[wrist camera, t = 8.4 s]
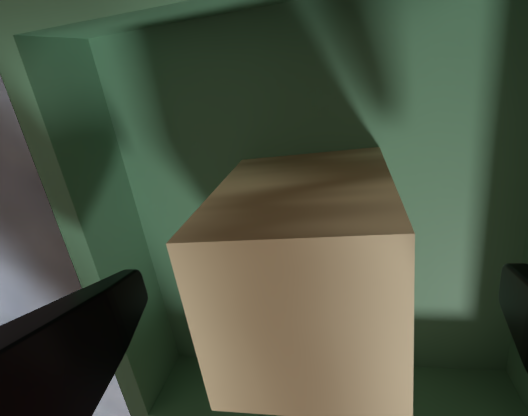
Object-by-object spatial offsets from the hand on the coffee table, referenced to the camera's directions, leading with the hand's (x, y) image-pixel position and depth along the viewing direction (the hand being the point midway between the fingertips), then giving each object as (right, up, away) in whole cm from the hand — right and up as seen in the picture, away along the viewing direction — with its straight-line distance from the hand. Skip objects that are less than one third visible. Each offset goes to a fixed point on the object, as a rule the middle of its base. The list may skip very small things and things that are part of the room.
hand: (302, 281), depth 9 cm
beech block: (+1, +2, +4) cm, 4 cm away
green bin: (+1, +2, +4) cm, 5 cm away
